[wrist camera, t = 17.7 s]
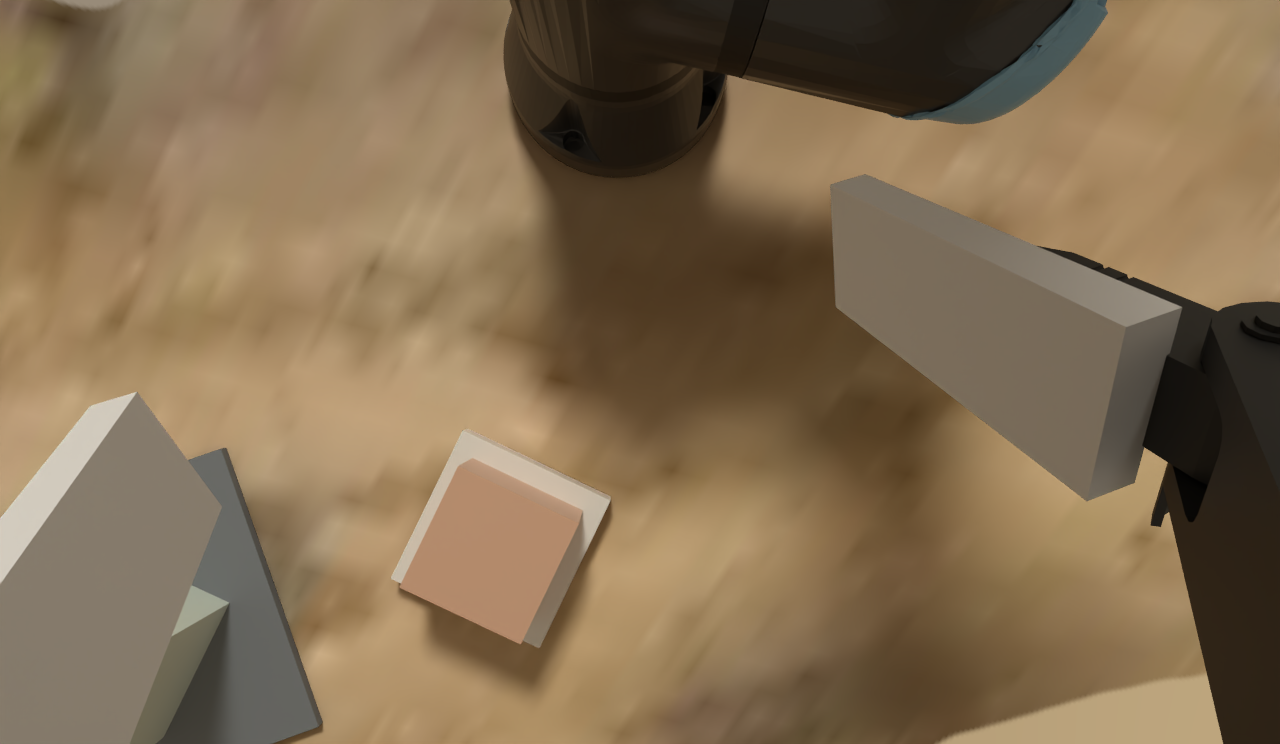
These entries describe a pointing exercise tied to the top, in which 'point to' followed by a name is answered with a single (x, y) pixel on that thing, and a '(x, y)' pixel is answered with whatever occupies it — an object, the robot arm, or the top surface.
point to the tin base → (500, 539)
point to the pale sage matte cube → (179, 663)
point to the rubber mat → (241, 637)
